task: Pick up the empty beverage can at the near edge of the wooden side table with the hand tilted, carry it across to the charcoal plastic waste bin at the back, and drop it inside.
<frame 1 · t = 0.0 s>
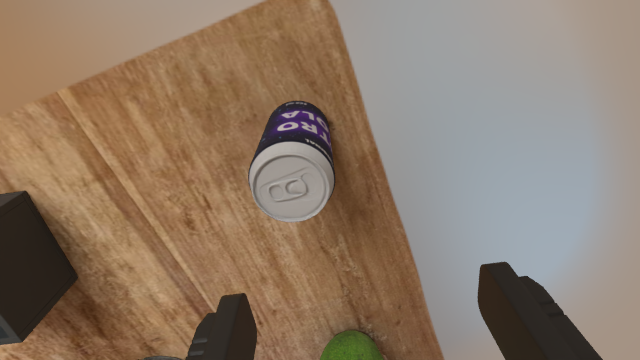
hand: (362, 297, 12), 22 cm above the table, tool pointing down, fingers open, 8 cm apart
beverage can: (298, 128, 32), on the table
fruit: (348, 336, 45), on the table
waste bin: (3, 244, 37), on the table
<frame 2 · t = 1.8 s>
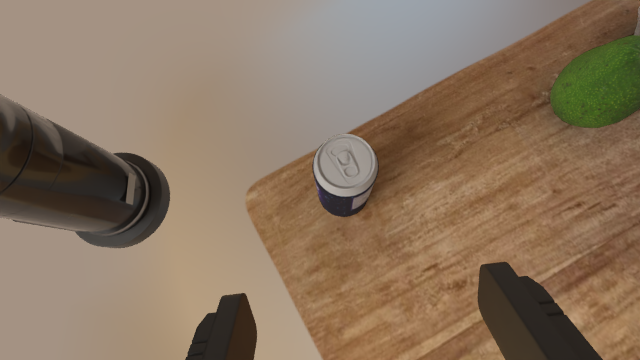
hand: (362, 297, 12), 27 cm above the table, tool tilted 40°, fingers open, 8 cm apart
beverage can: (343, 194, 40), on the table
fruit: (567, 110, 42), on the table
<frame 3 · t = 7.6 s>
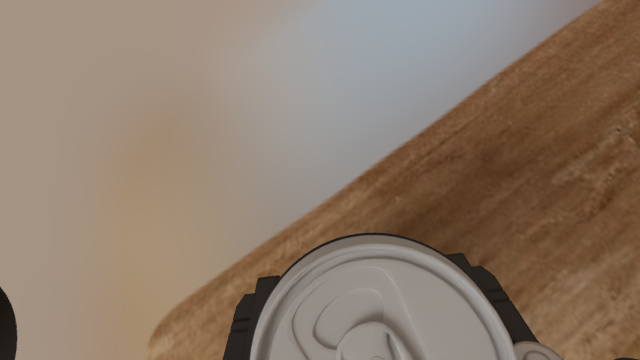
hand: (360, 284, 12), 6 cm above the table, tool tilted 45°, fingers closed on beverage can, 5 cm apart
beverage can: (363, 322, 18), on the table, touching gripper
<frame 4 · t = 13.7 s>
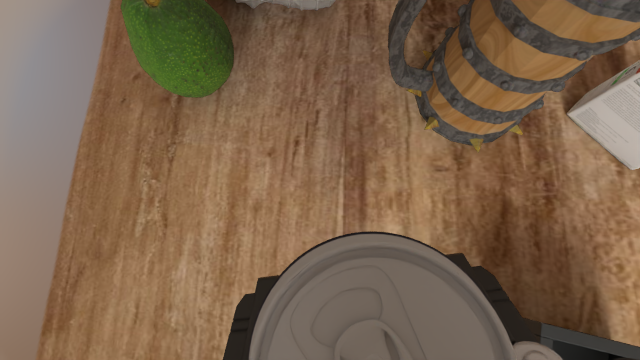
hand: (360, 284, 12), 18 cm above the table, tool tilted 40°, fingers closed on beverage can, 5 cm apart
beverage can: (363, 321, 18), point 12 cm above the table, touching gripper
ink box: (603, 132, 34), on the table
fruit: (204, 78, 35), on the table
mug: (444, 96, 35), on the table
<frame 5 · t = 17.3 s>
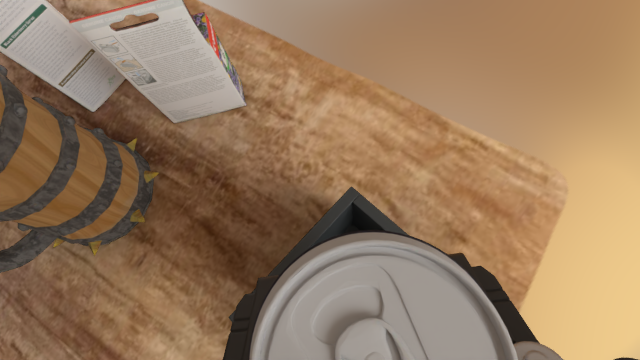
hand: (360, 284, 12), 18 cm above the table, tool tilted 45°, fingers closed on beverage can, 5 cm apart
beverage can: (363, 320, 18), point 12 cm above the table, touching gripper
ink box: (209, 103, 37), on the table
syrup box: (96, 84, 39), on the table
waste bin: (357, 307, 29), on the table
mug: (91, 212, 34), on the table
when the fingers open (12 cm above the table, at t = 19.7 s): beverage can drops 5 cm, resting on waste bin.
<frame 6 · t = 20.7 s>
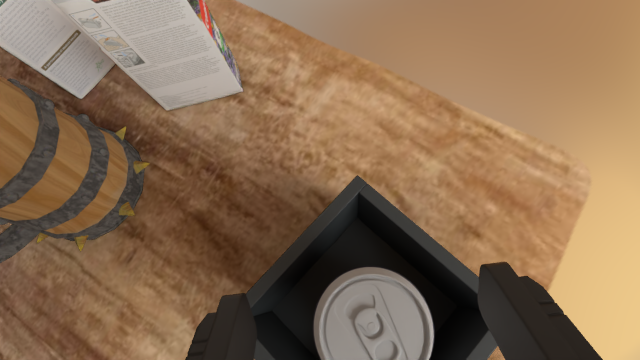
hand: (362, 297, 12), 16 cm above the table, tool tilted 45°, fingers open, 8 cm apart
beverage can: (364, 311, 27), resting on waste bin
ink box: (204, 90, 35), on the table
syrup box: (84, 70, 37), on the table
waste bin: (362, 307, 27), on the table
mug: (77, 205, 32), on the table
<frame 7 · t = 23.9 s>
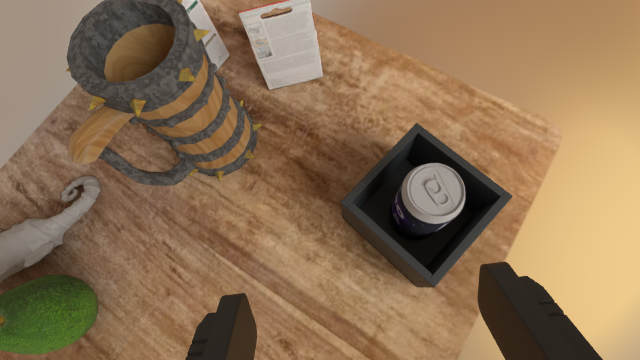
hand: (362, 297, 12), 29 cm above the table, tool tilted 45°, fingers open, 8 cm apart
beverage can: (412, 217, 41), resting on waste bin
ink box: (294, 76, 49), on the table
syrup box: (205, 61, 51), on the table
seahorse: (43, 235, 45), on the table
fruit: (85, 309, 42), on the table
waste bin: (410, 216, 42), on the table
mug: (211, 153, 47), on the table
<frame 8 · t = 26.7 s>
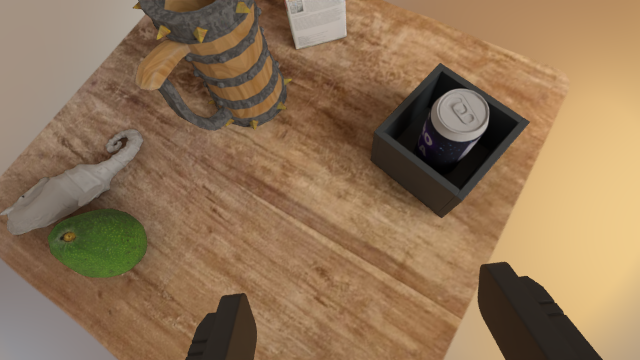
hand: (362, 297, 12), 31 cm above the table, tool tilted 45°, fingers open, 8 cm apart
beverage can: (435, 157, 45), resting on waste bin
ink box: (319, 36, 53), on the table
seahorse: (90, 184, 49), on the table
fruit: (133, 247, 45), on the table
waste bin: (433, 156, 45), on the table
mug: (244, 107, 50), on the table
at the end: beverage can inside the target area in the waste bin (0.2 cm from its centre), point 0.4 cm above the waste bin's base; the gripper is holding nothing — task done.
